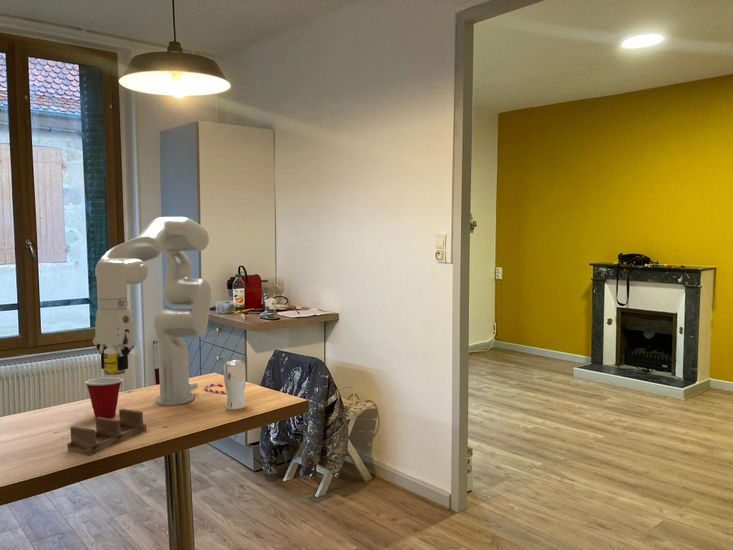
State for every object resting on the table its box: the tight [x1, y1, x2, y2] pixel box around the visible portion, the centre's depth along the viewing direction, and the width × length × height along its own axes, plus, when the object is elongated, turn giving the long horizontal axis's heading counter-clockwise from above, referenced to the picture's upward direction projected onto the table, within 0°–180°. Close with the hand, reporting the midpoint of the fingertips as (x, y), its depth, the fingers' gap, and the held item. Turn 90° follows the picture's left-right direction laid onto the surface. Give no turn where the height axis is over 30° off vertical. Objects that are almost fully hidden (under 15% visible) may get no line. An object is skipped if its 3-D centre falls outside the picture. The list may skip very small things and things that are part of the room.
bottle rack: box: [66, 408, 147, 457], centre depth 166 cm, size 20×8×6 cm, turn 155°
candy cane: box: [203, 383, 227, 395], centre depth 215 cm, size 8×1×15 cm
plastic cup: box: [84, 377, 123, 419], centre depth 186 cm, size 11×11×12 cm
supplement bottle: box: [103, 344, 126, 378], centre depth 166 cm, size 5×5×10 cm
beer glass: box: [223, 359, 247, 411], centre depth 195 cm, size 7×7×15 cm
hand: (114, 368), depth 166 cm, fingers closed on supplement bottle, 5 cm apart
